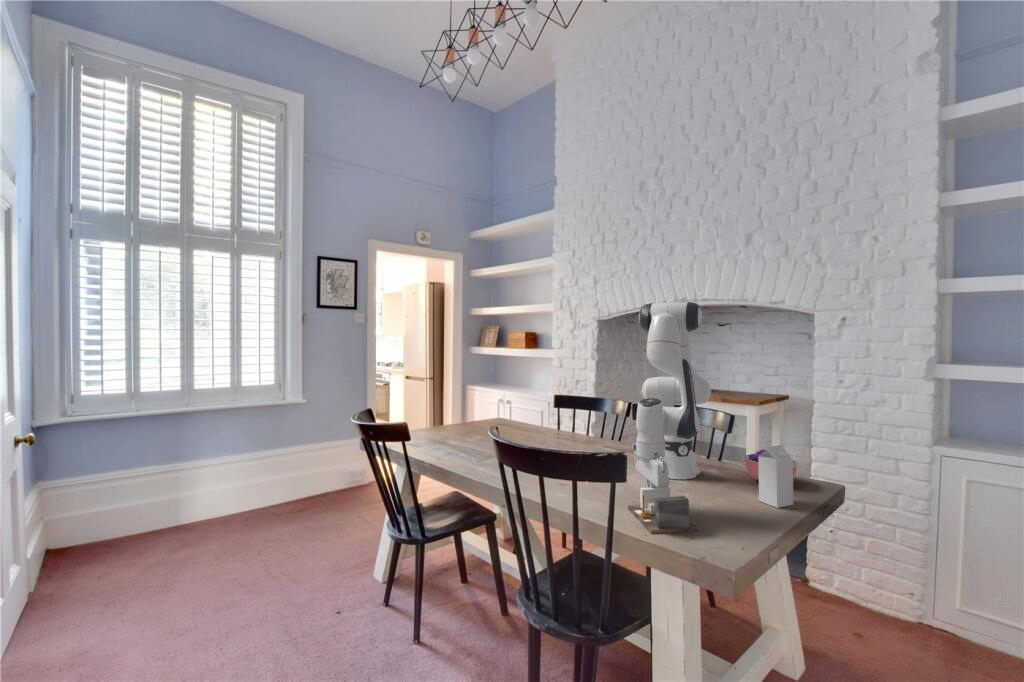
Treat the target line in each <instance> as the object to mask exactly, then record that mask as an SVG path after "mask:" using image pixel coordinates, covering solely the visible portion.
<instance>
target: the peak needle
mask: <svg viewBox="0 0 1024 682" xmlns="http://www.w3.org/2000/svg"><path fill="white" fill-rule="evenodd" d="M642 509H643V512H641V516H642V517H646V516H651V512H644V495H642Z"/></svg>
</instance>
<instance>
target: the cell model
mask: <svg viewBox="0 0 1024 682" xmlns="http://www.w3.org/2000/svg"><path fill="white" fill-rule="evenodd" d="M765 451H767V449H760V450H757V451H756V452H755V453H751V454H746V455H743V457H741V458H742V461H743V463H744V467H745V469H746V471H747V473H748V474H749V475H750V476H751V477H752V478H753V479H755V480H756V481H759V456H760V455H761V454H763V453H764V452H765ZM798 467H799V463H798V462H797V461H796V460H794V459H793V479H794V478H795V476H796V474H797V470H798Z"/></svg>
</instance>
